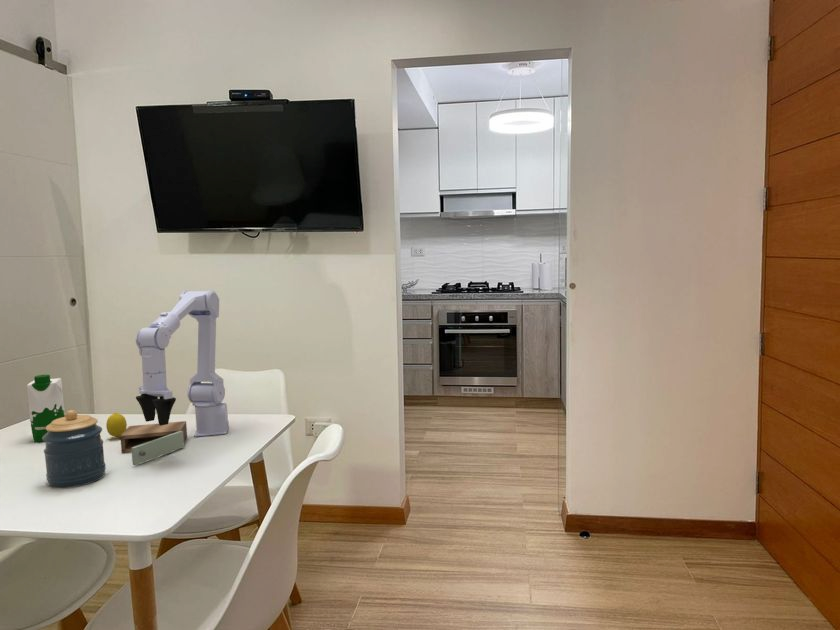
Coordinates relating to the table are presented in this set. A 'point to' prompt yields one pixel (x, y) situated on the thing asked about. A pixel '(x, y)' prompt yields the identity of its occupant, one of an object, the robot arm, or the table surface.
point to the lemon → (116, 425)
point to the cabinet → (149, 434)
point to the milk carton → (44, 404)
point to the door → (157, 447)
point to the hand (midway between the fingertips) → (156, 422)
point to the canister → (73, 451)
